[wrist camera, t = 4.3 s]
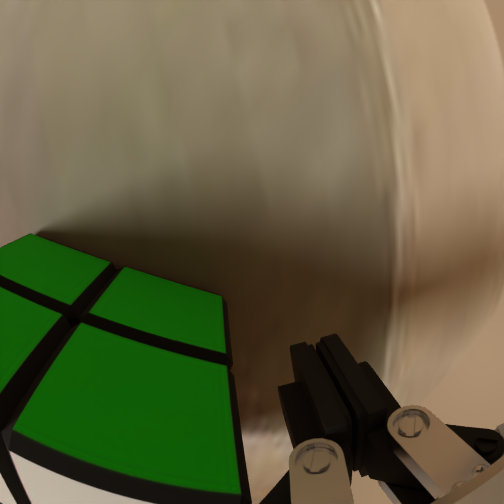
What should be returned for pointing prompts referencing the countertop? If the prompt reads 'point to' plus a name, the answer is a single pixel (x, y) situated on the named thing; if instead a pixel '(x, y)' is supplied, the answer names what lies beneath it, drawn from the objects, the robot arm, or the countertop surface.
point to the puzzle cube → (113, 385)
